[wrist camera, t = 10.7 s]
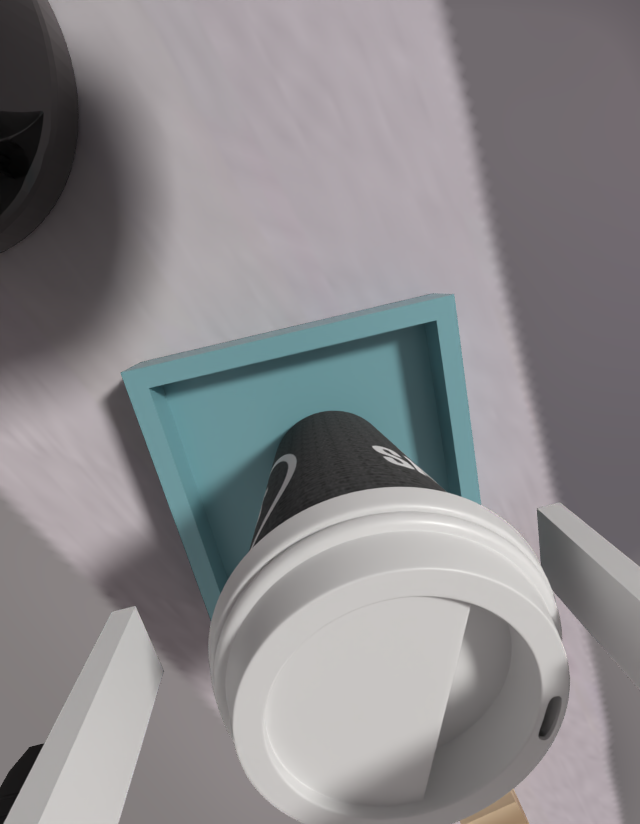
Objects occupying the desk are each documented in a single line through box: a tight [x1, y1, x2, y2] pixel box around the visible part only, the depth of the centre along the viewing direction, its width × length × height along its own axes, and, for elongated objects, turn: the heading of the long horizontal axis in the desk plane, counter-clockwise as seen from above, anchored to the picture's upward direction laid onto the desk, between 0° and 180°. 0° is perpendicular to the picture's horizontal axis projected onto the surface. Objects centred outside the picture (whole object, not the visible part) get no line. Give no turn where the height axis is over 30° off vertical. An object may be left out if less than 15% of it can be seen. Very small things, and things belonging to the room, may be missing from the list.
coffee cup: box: [208, 411, 570, 824], centre depth 17 cm, size 10×10×15 cm
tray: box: [121, 293, 481, 620], centre depth 24 cm, size 16×16×3 cm
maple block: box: [460, 789, 529, 824], centre depth 32 cm, size 4×4×4 cm
